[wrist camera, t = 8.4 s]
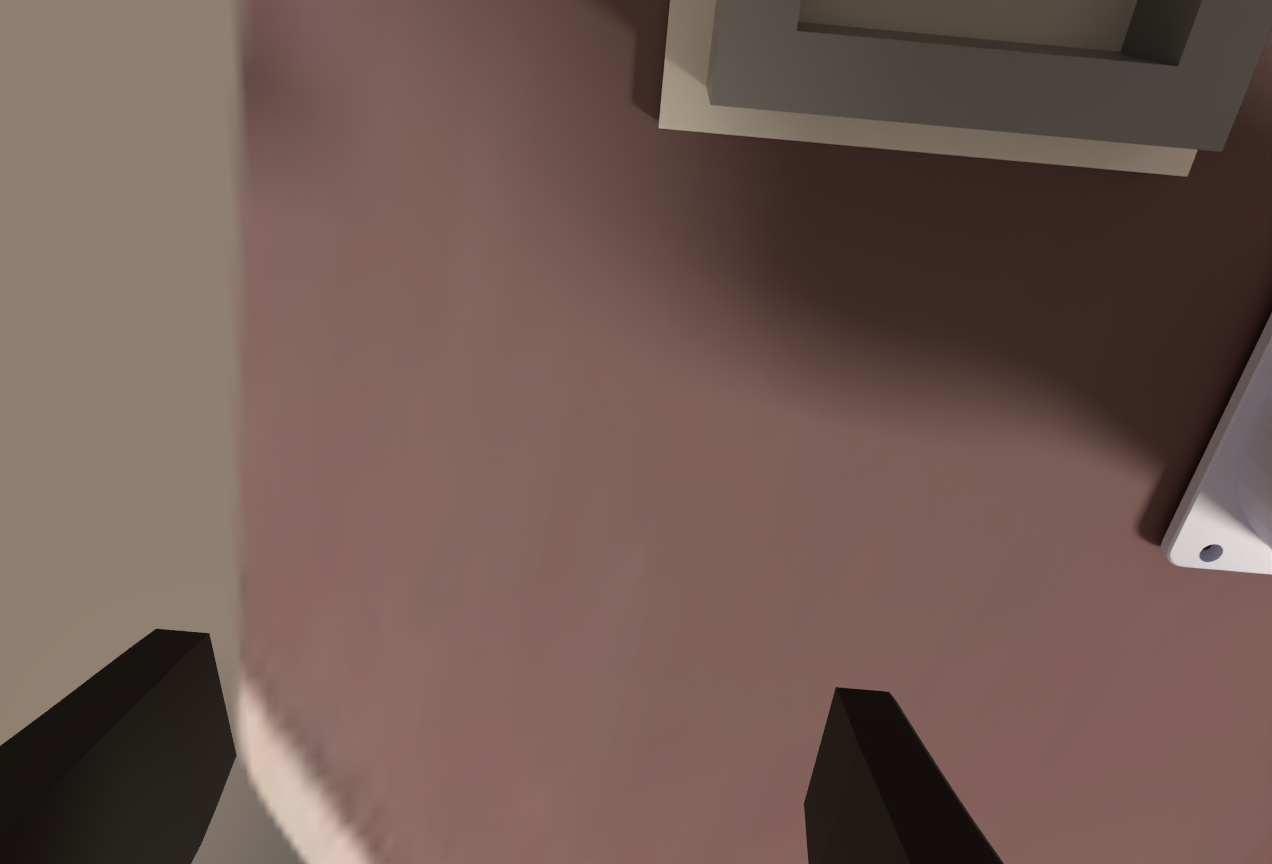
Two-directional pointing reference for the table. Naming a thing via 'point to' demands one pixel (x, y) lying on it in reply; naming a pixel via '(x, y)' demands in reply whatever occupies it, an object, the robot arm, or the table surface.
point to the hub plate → (970, 75)
